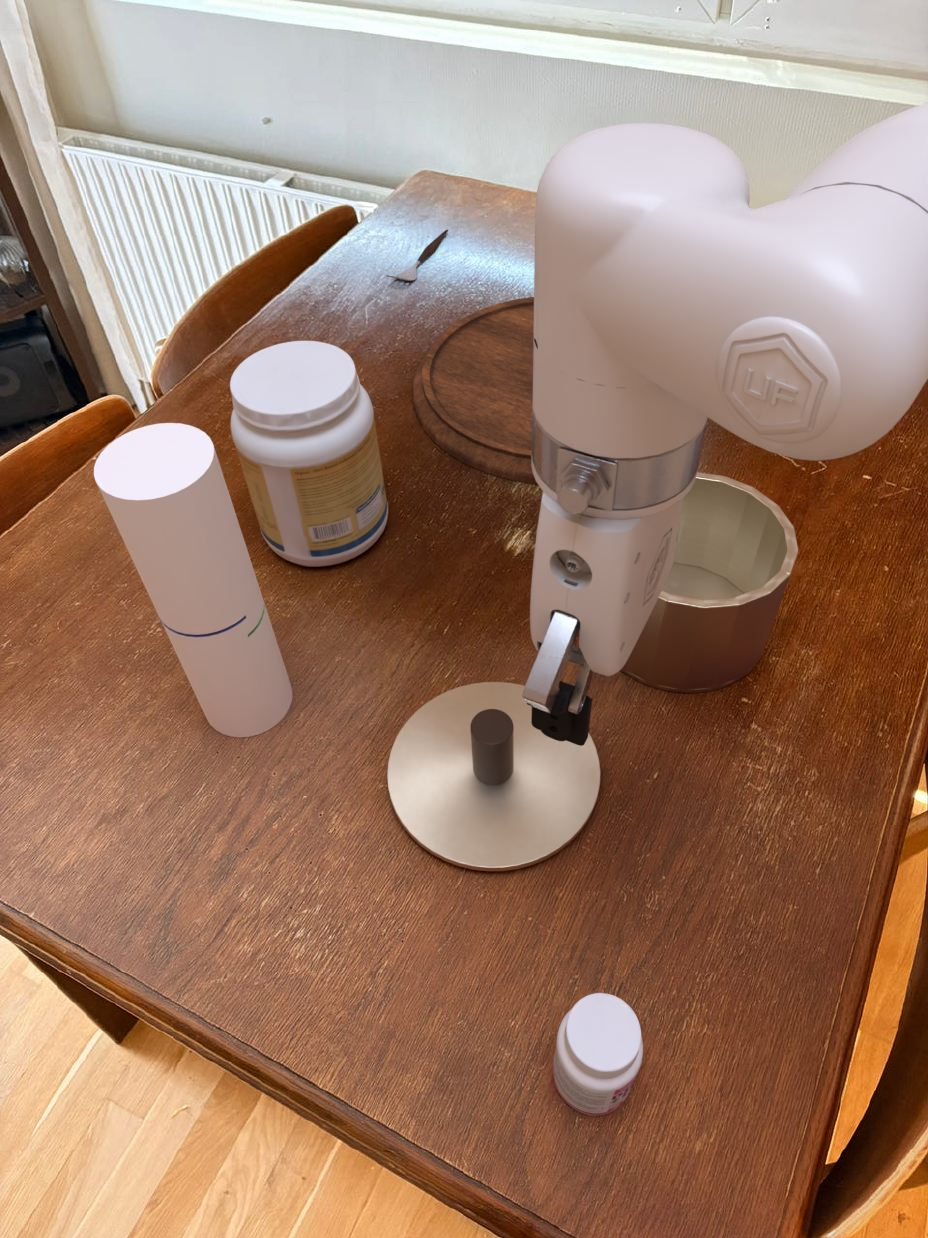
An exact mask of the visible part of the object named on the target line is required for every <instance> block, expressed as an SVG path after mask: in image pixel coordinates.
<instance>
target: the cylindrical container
mask: <svg viewBox="0 0 928 1238" xmlns="http://www.w3.org/2000/svg"><path fill="white" fill-rule="evenodd" d="M93 478H94V480H95V483H96V485H97V488H98V489H99V491H100V494H101V496H102V498H103V500H104V503H105V504H106V507H107V509H108V511H109V513H110V515H111V518H112V519H113V523H114V524H115V526H116V528H117V531H118V533H119V535H120V536H121V539H122V541H123V543H124V545H125V548H126V549H127V552H128V554H129V556H130V558H131V560H132V563H133V565H134V567H135V569H136V571H137V573H138V575H139V577H140V579H141V581H142V584H143V586H144V589H145V590H146V593H147V594H148V597H149V599H150V601H151V603H152V605H153V607H154V610H155V611H156V614H157V616H158V619H159V620H160V622H161V624H162V627H163V629H164V630H165V633H166V635H167V637H168V639H169V641H170V644H171V645H172V646H171V647H172V648H173V650H174V653H175V654H176V656H177V659H178V661H179V663H180V665H181V667H182V669H183V672H184V674H185V676H186V678H187V680H188V683H189V685H190V687H191V689H192V691H193V693H194V695H195V697H196V699H197V701H198V704H199V706H200V708H201V710H202V712H203V714H204V717H205V718H206V721H207V722H208V724H209V725H210V726H211V728H213V729H214V730H215V731H217V732H218V733H220V734H221V735H223V736H227V737H231V738H250V737H254V736H258V735H261V734H263V733H265V732H267V731H269V730H271V729H273V728H274V727H276V726H277V725H278V724H279V723H280V722H281V721H282V720H283V719H284V718H285V717H286V715H287V714H288V712H289V710H290V708H291V706H292V702H293V695H294V694H293V688H292V687H293V686H292V684H291V681H290V678H289V674H288V671H287V668H286V665H285V663H284V660H283V655H282V653H281V649H280V647H279V644H278V640H277V637H276V635H275V634H276V633H275V631H274V629H273V625H272V622H271V619H270V616H269V613H268V609H267V607H266V604H265V600H264V597H263V594H262V590H261V588H260V585H259V582H258V578H257V576H256V572H255V569H254V567H253V563H252V561H251V556H250V554H249V551H248V547H247V544H246V541H245V538H244V535H243V532H242V530H241V526H240V523H239V520H238V516H237V514H236V511H235V507H234V504H233V501H232V498H231V495H230V492H229V488H228V485H227V483H226V479H225V476H224V474H223V470H222V467H221V464H220V461H219V458H218V454H217V452H216V449H215V445H214V443H213V441H212V439H211V437H210V436H209V435H208V434H207V433H206V432H205V431H203V430H201V429H200V428H199V427H196V426H193V425H190V424H185V423H180V422H162V423H155V424H150V425H149V424H148V425H145V426H141V427H138V428H135V429H133V430H131V431H128V432H126V433H124V434H123V435H120V436H119V437H117V438H115V439H114V440H113V441H111V442H110V443H109V444H108V445H107V446H105V448H104V449H103V450H102V451H101V452H100V454H99V455H98V457H97V459H96V460H95V463H94V467H93Z"/></svg>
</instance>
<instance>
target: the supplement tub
mask: <svg viewBox="0 0 928 1238" xmlns="http://www.w3.org/2000/svg"><path fill="white" fill-rule="evenodd" d="M229 390H230V394H231V402H232V407H233V408H232V411H231V416H230V433H231V438H232V441H233V443H234V447H235V450H236V453H237V456H238V460H239V463H240V467H241V469H242V473H243V476H244V480H245V483H246V486H247V490H248V493H249V496H250V500H251V502H252V506H253V510H254V513H255V516H256V519H257V522H258V526H259V530H260V533H261V535H262V537H263V539H264V541H265V542H266V544H267V545H268V546H269V548H270V549H271V550H272V551H273V552H274V553H275V554H276V555H278V556H279V557H281V558H282V559H283V560H286V561H288V562H290V563H293V564H295V565H299V566H303V567H315V568H316V567H317V568H318V567H329V566H333V565H339V564H342V563H345V562H347V561H350V560H352V559H354V558H357V557H358V556H360V555H361V554H363V553H365V552H366V551H367V550H369V549H370V548H371V547H372V546H373V545H374V544H375V543H376V542H378V540H379V538H381V535H382V534H383V532H384V530H385V528H386V526H387V524H388V518H389V504H388V503H389V502H388V500H387V492H386V487H385V481H384V474H383V473H384V472H383V468H382V467H383V466H382V461H381V460H382V459H381V454H380V448H379V440H378V432H377V427H376V421H375V411H374V410H375V409H374V406H373V404H372V401H371V397H370V395H369V393H368V392H367V390H366V389H365V387H364V386H363V385H362V384H361V382H360V377H359V376H358V373H357V369H356V365H355V361H354V360H353V359H352V357H351V356H350V354H348V352H346V351H345V350H343V349H342V348H340V347H339V346H336V345H334V344H331V343H327V342H323V341H316V340H292V341H287V342H282V343H277V344H274V345H270V346H268V347H265V348H262V349H261V350H258V351H256V352H254V353H253V354H251V355H250V356H248V357H246V358H245V359H244V360H243V361H242V362H241V363H239V364H238V365H237V367H236V368H235V370H234V371H233V373H232V374H231V377H230V381H229Z"/></svg>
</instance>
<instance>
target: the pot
mask: <svg viewBox="0 0 928 1238" xmlns="http://www.w3.org/2000/svg"><path fill="white" fill-rule="evenodd" d="M798 554H799V546H798V540H797V536H796V531H795V527H794V525H793V524H792V522H791V521H790V520H789V518H788V517H787V516H786V513H784V511H783V510H782V508H781V507H780V506H779V505H778V504H777V503H776V502H774V501H773V500H772V499H770V498H769V497H767V496H766V495H765V494H763V493H762V492H760V491H759V490H758V489H756V488H755V487H754V486H752V485H749V484H746V483H744V482H741V481H739V480H737V479H733V478H731V477H728V476H724V475H720V474H714V473H708V472H700V471H697V475H696V479H695V482H694V484H693V486H692V488H691V490H690V491H689V492H688V493H687V495H686V496H685V497H684V498H683V504H682V512H681V519H680V527H679V534H678V542H677V549H676V555H675V559H674V562H673V566H672V568H671V571H670V574H669V576H668V578H667V580H666V583H665V585H664V587H663V589H662V591H661V593H660V595H659V597H658V600H657V602H656V604H655V606H654V608H653V610H652V612H651V614H650V616H649V618H648V620H647V622H646V624H645V626H644V628H643V630H642V632H641V634H640V636H639V638H638V640H637V642H636V644H635V646H634V648H633V650H632V652H631V654H630V656H629V658H628V660H627V661H626V663H625V665H624V666H623V668H622V669H621V670H620V671H621V672H622V673H624V674H625V675H627V676H628V677H630V678H631V679H633V680H635V681H637V682H638V683H641V684H644V685H647V686H649V687H651V688H655V689H658V690H662V691H665V692H666V691H667V692H671V693H681V694H699V693H707V692H713V691H716V690H720V689H723V688H725V687H729V686H731V685H733V684H735V683H736V682H738V681H740V680H742V679H743V678H744V677H746V676H747V675H748V674H750V672H752V671H753V670H754V668H756V666H757V665H758V663H759V662H760V660H761V659H762V658H763V655H764V653H765V649H766V647H767V644H768V642H769V638H770V636H771V633H772V629H773V627H774V624H775V621H776V618H777V616H778V613H779V609H780V607H781V604H782V601H783V598H784V595H785V592H786V589H787V587H788V583H789V580H790V578H791V574H792V572H793V569H794V567H795V564H796V560H797V556H798Z"/></svg>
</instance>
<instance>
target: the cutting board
mask: <svg viewBox="0 0 928 1238" xmlns="http://www.w3.org/2000/svg"><path fill="white" fill-rule="evenodd" d="M533 330H534V296H531V297H523V298H518V299H517V298H515V299H512V300H508V301H503V302H499V303H496V304H494V305H490V306H487V307H485V308H482V309H479V310H478V311H475V312H473V313H470V314H469V315H467V316H465V317H463V318H462V319H459V320H458V321H457V322H455V323H453V324H451V326H449V328H447V329H446V330H444V332H442V333H441V334H440V335H439V336H438V337H437V339H436V340H435V341H434V342H433V343H432V344H431V346H430V348H429V349H428V351H426V353H424V355H423V356H422V359H421V360H420V362H419V364H418V366H417V368H416V371H415V374H414V378H413V382H412V401H413V407H414V411H415V415H416V418H417V420H418V421H419V423H420V425H421V427H422V429H423V431H424V432H425V433H426V434H427V436H428V437H429V438H430V440H431V441H433V442H434V444H435V445H436V446H438V447H439V448H440V449H442V450H443V451H444V452H445V453H447V455H449V456H451V457H452V458H454V459H456V460H457V461H459V462H461V463H463V464H465V465H466V466H468V467H470V468H473V469H476V470H477V471H480V472H483V473H485V474H487V475H491V476H495V477H497V478H502V479H504V480H505V479H506V480H509V481H513V482H519V483H524V484H525V483H526V484H531V485H538V483H537V482H536V480H535V477H534V475H533V472H532V466H531V460H532V404H533Z"/></svg>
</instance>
